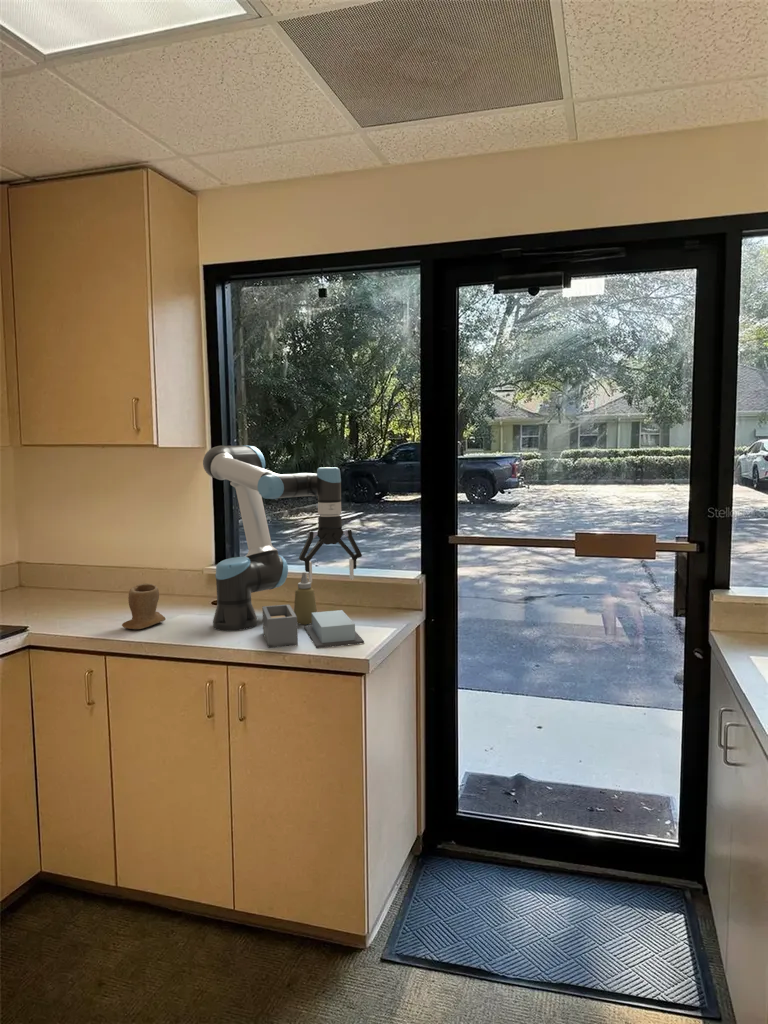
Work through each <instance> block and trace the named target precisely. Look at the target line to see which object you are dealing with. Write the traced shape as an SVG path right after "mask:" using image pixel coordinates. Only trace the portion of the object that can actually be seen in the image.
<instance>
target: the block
mask: <svg viewBox="0 0 768 1024" xmlns="http://www.w3.org/2000/svg"><path fill="white" fill-rule="evenodd" d="M311 626H312V628H313V630H314V631H315V633H316V634H317V636H318V637H319V639H320V641H321V642H322V643H327V642H338V641H348V640H355V631H356V623H354V622H353V620H352V619H351V618H350V617H349V616H348V615H347V613H345V612H344V610H343V609H339V610H327V611H317V612H313V613H312V624H311Z"/></svg>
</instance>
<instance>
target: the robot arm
mask: <svg viewBox="0 0 768 1024" xmlns="http://www.w3.org/2000/svg"><path fill="white" fill-rule="evenodd" d="M265 459H266V458H265V457H264V455H263V452H261V450H260V449H259V448H257V447H256V446H254V445H247V444H246V445H245V444H244V445H217V446H214V447H212V448H210V449H209V450H208V451H207V452H206V453H205V454H204V456H203V459H202V466H203V469H204V471H205V473H206V474H207V475H208V476H210V477H211V478H214V479H216V480H219V481H224V480H226V481H229V484H230V486H232V487H233V488H234V489H235V491H236V492H235V493H236V497H237V501H238V507H239V512H240V515H241V522H242V524H243V529H244V530H243V531H244V534H245V539H246V544H247V545H246V546H247V548H248V552H247V553H246V555H245V556H236V557H228V558H226V559H223V560H221V561H220V562H218V563H217V565H216V566H215V580H216V581H215V582H216V583H215V585H216V586H215V587H216V608H215V612H214V615H213V620H212V628H213V629H215V630H217V631H223V632H225V631H226V632H235V631H243V630H248V629H251V628H254V627H256V626H257V625H258V616H257V614H256V611H255V609H254V606H253V603H252V593H257V592H261V591H262V592H263V591H267V590H273V589H276V588H279V587H281V586H283V585H284V583H286V580H287V578H288V574H289V565H288V562H287V560H286V559H285V557H284V556H282V555H281V554H279V552H278V549H277V548H275V547H274V546H273V543H272V540H271V534H270V530H269V525H268V521H267V516H266V510H265V507H264V502H263V499H266V500H268V499H270V500H277V499H284V498H298V497H300V498H301V497H317V514H318V518H317V521H318V524H317V525H318V526H317V528H318V529H317V531H312V530H309V531H308V534H307V535H308V536H307V539H306V541H305V544H304V545H303V548H302V551H301V552H300V554H299V556H298V559H299V560H300V561H301V562H302V561H303V562H304V571H305V572H306V573H308V576H307V577H308V582H310V583H311V584H312V583H313V562H312V561H311V560H312V558H313V557H314V556H315V555H316V554H317V552H318V551H319V549H320V548H321V547H322V546H323V545H324V544H325V545H336V544H339V545H340V546H341V548H342V549H343V550H344V551H345V552H346V553H347V554H348V555H349V556H350V558H349V560H348V563H349V566H348V567H349V568H348V569H349V580H351V581H352V580H354V579H355V574H354V572H355V571H354V570H356V569H357V560H358V559H359V558H361V557H362V556H363V553H361V549H359V546H358V544H357V542H356V541H355V539H354V537H353V530H352V529H350V528H347V529H343V527H342V526H343V524H342V522H343V521H342V517H343V516H341V514H342V478H341V477H342V476H341V470H340V468H339V467H335V466H334V467H333V466H332V467H330V466H326V467H324V466H323V467H322V466H321V467H318V468H317V469H316V472H314V473H312V472H297V473H283V474H280V473H276V472H273V471H272V470H268V469H265V468H266V460H265ZM343 535H344V536H346V537H347V539H348V541H349V543H350V545H351V546H352V549H353V551H354V552H353V551H352V550H351V549H350V548H349V546H347V545H346V543H345V542H344V541H343V540H342V537H343ZM316 536H317V537H318V538H319V539H318V540H317V541H316V543H315V545H314V546H313V547H312V549H311V550H310V551H309V549H310V547H311V546H312V545H311V544H312V543H313V540H314V539H315V538H316ZM308 551H309V553H308ZM307 553H308V554H307Z"/></svg>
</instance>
